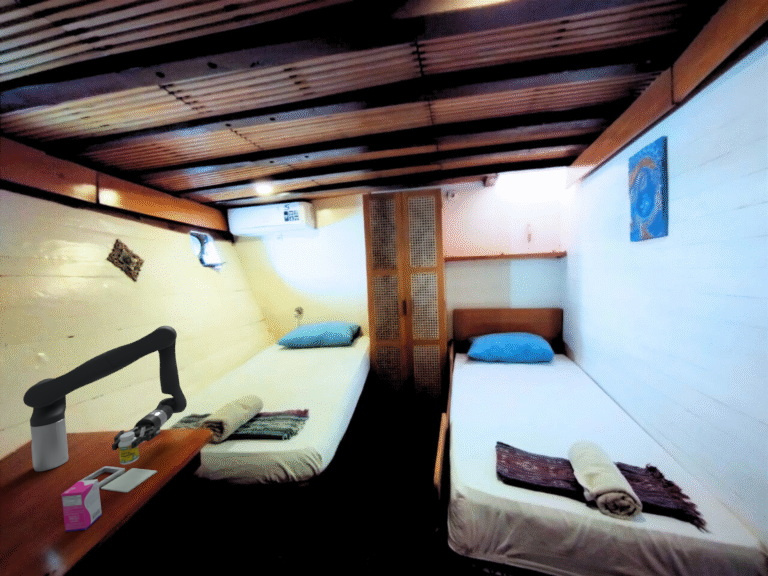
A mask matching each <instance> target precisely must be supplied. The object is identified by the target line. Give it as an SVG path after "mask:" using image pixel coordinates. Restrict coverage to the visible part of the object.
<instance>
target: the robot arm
mask: <svg viewBox="0 0 768 576" xmlns="http://www.w3.org/2000/svg"><path fill="white" fill-rule="evenodd" d="M177 336H178V333H177V331H176V329H175V328H174V327H172V326H170V325H161V326H158V327H157V328H156V329H154V330H153V331H151V332H150V333H148V334H146V335H144V336H142V337H140V339H137V340H135V341H132V342H130V343H126V344H123V345H120V346H117V347H114V348H111V349H110V350H107V351H105V352H102V353H100V354H98V355H95V356H94V357H91V358H90V359H88V360H86V361H85V362H83V363H81V364H79V365H78V366H77V367H74V368H73V369H71V370H70V371H68V372H66V373H64V374H61V375H59V376H57V377H55V378H52V377H50V378H45V379H42V380H39V381H38V382H37V383H35V384H33V385H32V386H30V387H29V388H28V389H27V390H26V391H25V393H24V395H23V397H22V398H23V399H22V400H23V404H24V405H25V406H27V407H29V408H32V413H31V416H30V419H29V425H30V435H31V436H30V437H31V445H30V449H31V457H32V458H31V459H32V460H31V461H32V468H33V469H34V471H35V472H44V471H48V470H49V471H50V470H52V469H55V468H57V467H60V466H62V465H63V464H65V463H67V462H68V461H69V451H68V450H69V449H68V448H69V447H68V436H67V426H66V410H67V395H69V394H70V393H72V392H74V391H76V390H78V389H80V388H83V387H86V386H87V385H90V384H93V383H95V382H97V381H99V380H102V379H104V378H106V377H108V376H111V375H112V374H114V373H116V372H119V371H121V370H122V369H124V368H126V367H128V366H130V365H132V364H133V363H135V362H137V361H138V360H140V359H142V358H144V357H145V356H148V355H150V354H153V353H154V352H157V354H158V359H159V361H158V362H159V369H158V370H159V373H158V374H159V383H160V384H159V385H160V390H161V393H162V394H164V395H169V396H171V397H166V398H162V399H161V400H160V401H159V403H158V405H157V406H156V407H155V409H153V410H152V411H150V412H149V413H147V414H146V415H144V417H142V418H141V419H140V420H138V421H137V422H136V423H135V425H134V427H133V428H131V429H129V430H128V431H125V430H124V429H123V430H120V431H119V432H118V433H117V434H116V435H115V436H114V438H113V442H114V443H112V444H111V449H112V450H111V451H117V450H119V449H118V444H119V442H120V436H121V435H122V434H124V433H127V432H134V434H135V436H134V437H136V439H135V440H134V441H133V442H132V443H131V446H132V448H135V447H137V446H138V447H139V446H140V445H141V444H143V443H145V441H146V442H150V441H151V440H153V439H154V438H156V437H157V436H159V435H161V428H162V427H163V426H164V425H165V424H166V423H167V422H168V421H169V420H171V418H172V417H173V414H179V413H183V412H184V411H185V410H186V408H187V405H188V404H187V399H186V396H185V394H184V392H183V389H182V388H181V384H180V377H179V376H180V375H179V370H178V362H177V356H176V345H177V343H176V341H177V338H178V337H177Z"/></svg>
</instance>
